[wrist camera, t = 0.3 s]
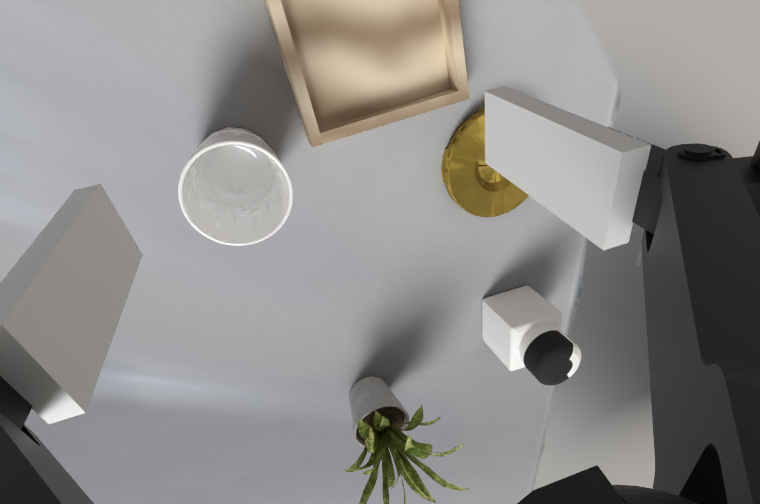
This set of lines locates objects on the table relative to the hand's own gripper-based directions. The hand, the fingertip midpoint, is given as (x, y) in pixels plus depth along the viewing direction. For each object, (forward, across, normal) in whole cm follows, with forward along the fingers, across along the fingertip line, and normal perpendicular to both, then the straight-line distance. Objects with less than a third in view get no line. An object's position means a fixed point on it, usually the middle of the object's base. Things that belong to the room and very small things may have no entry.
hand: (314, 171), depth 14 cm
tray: (+27, +9, +1) cm, 29 cm away
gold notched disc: (+27, +21, -15) cm, 37 cm away
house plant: (+22, +2, -42) cm, 47 cm away
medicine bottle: (+24, +22, -37) cm, 49 cm away
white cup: (+26, -6, -8) cm, 27 cm away
